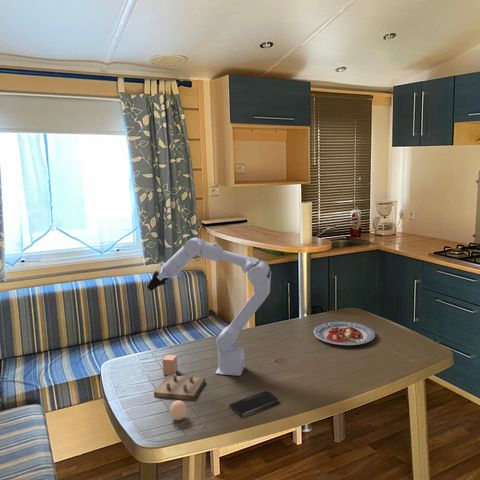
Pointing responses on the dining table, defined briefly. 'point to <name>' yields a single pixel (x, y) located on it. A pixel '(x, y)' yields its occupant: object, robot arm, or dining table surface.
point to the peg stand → (179, 387)
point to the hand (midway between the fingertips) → (153, 285)
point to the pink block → (170, 364)
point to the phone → (254, 403)
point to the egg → (178, 410)
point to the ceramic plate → (344, 333)
